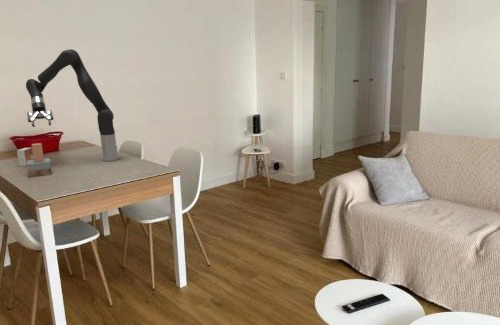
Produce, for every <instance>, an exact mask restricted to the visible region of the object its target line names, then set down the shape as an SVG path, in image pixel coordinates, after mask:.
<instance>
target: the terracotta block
mask: <svg viewBox="0 0 500 325" xmlns="http://www.w3.org/2000/svg"><path fill="white" fill-rule="evenodd" d="M31 148H32V150H33V158H34V162H40V161H44V159H45V158H44V153H43V145H42V142H41V143H32V144H31Z"/></svg>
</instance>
